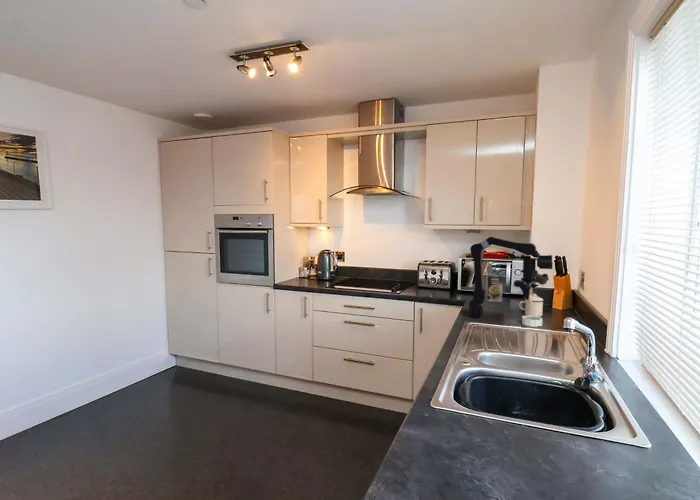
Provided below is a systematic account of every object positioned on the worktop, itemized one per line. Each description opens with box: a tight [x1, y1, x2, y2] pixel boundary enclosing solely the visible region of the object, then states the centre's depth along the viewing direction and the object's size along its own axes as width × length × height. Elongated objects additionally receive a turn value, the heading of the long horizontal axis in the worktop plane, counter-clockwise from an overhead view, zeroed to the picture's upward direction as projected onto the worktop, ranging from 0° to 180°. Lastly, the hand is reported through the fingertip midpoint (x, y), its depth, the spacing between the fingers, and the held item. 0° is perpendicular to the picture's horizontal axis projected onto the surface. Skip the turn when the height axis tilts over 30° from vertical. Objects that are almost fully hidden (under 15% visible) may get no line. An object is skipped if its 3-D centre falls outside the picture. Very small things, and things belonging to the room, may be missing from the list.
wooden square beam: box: [524, 287, 534, 303], centre depth 188 cm, size 2×2×8 cm
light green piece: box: [521, 315, 543, 328], centre depth 188 cm, size 9×9×3 cm
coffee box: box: [485, 274, 504, 303], centre depth 239 cm, size 9×6×16 cm
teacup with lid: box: [518, 293, 544, 318], centre depth 206 cm, size 12×9×12 cm
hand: (528, 298), depth 188 cm, fingers closed on wooden square beam, 2 cm apart
